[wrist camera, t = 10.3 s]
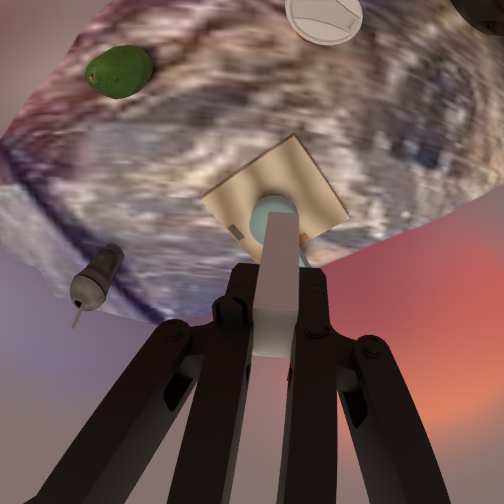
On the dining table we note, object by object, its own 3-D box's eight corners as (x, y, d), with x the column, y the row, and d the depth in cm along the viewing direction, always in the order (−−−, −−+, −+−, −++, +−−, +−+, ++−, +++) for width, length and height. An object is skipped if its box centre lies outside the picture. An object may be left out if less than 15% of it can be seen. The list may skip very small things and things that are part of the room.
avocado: (119, 44, 36) (74, 46, 26) (165, 47, 36) (127, 46, 26) (113, 91, 40) (68, 105, 31) (156, 96, 41) (118, 110, 31)
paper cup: (350, 18, 31) (378, 2, 20) (325, 59, 36) (343, 58, 24) (300, -8, 30) (306, -37, 19) (275, 33, 34) (270, 20, 23)
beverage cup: (109, 231, 56) (56, 301, 40) (136, 255, 59) (91, 329, 43) (94, 250, 60) (45, 317, 44) (119, 272, 62) (77, 342, 46)
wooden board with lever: (293, 133, 43) (294, 140, 39) (347, 213, 49) (352, 226, 46) (202, 196, 50) (196, 207, 47) (260, 261, 57) (258, 275, 54)
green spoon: (242, 207, 46) (240, 216, 43) (285, 188, 43) (285, 197, 41) (285, 276, 53) (284, 288, 50) (323, 262, 50) (325, 273, 48)
